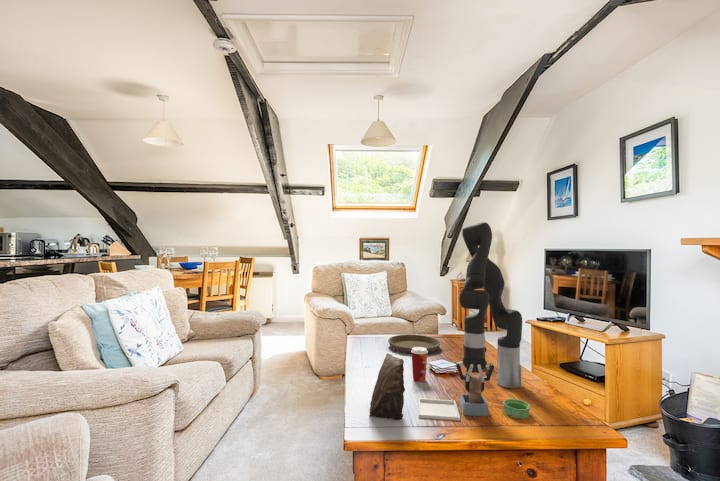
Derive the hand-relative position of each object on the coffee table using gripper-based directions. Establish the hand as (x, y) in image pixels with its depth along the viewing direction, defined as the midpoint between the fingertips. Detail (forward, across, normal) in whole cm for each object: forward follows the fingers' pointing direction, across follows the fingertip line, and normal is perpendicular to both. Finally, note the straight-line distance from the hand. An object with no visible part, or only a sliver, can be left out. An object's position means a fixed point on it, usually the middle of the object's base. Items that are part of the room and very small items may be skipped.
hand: (474, 391), depth 135 cm
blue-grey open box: (+8, 0, 0) cm, 8 cm away
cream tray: (+8, +13, +2) cm, 16 cm away
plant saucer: (+9, +21, -84) cm, 87 cm away
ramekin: (+8, -15, 0) cm, 17 cm away
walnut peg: (+5, 0, 0) cm, 5 cm away
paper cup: (+8, +19, -31) cm, 37 cm away
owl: (+8, +32, +5) cm, 34 cm away
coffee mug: (+9, -10, -59) cm, 60 cm away
